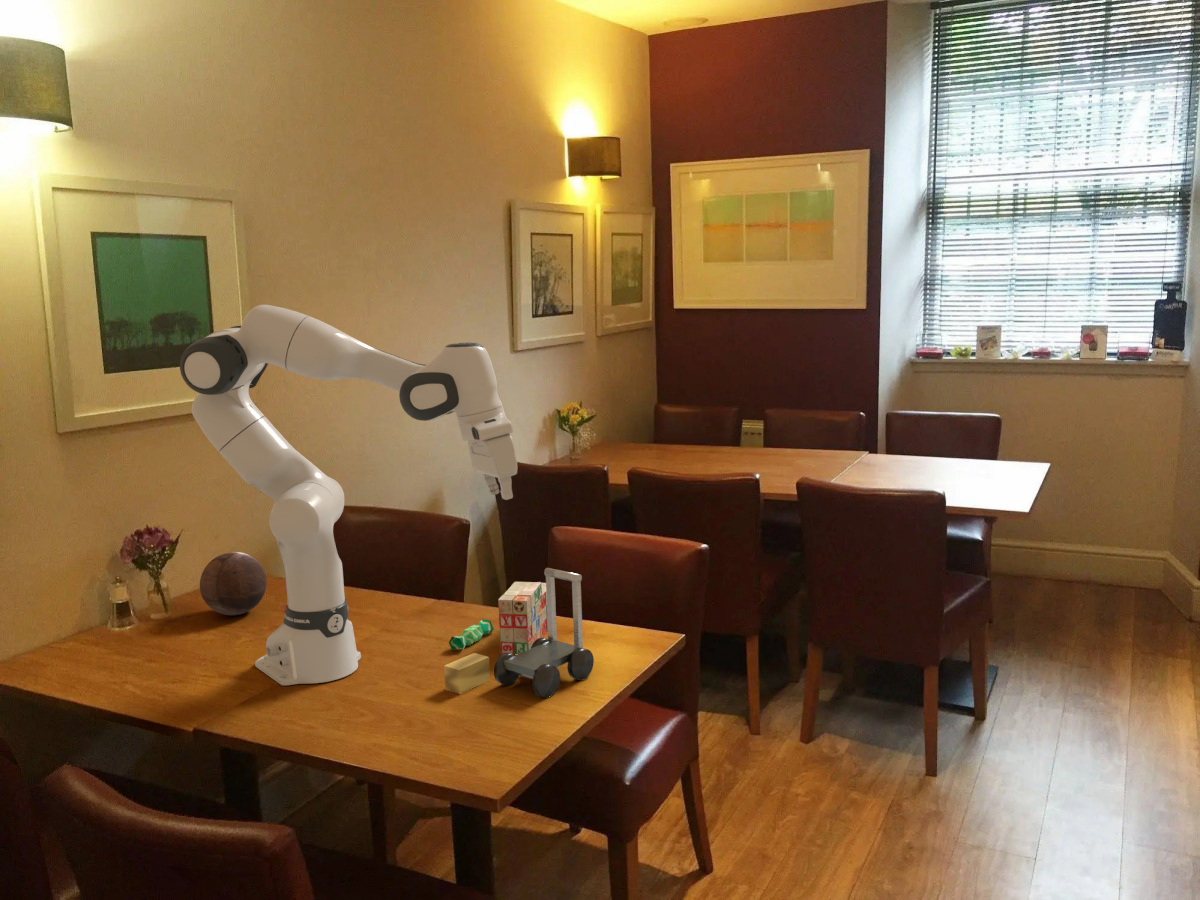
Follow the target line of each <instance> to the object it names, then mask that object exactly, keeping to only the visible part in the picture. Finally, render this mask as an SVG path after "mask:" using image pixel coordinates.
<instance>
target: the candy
mask: <svg viewBox="0 0 1200 900" xmlns="http://www.w3.org/2000/svg"><path fill="white" fill-rule="evenodd" d="M494 630H495V628H494V625H493V623H492V622H491V620H489V619H486V618H485V619H484V618H482V619H481V620H480V621H479V622H478V624H477V625H476V624H472V625H470V626H469V627H467V628H465V629H464V630H463V631H462V633H461V635H460V636H459V635H454V636H451V637H450V639H449V641H448V645H449V647H450V648H451V650H453V649H459V650H461V651H464V650H465V647H466V646H472V645H474V644H475V643H477V642H479V641H480V640H481V639H482V637H483V636H484V635H486V634H488V635H491V634H492V632H493V631H494ZM490 633H491V634H490ZM476 641H477V642H476ZM474 642H475V643H474ZM473 643H474V644H473ZM471 644H472V645H471ZM460 648H463V649H460ZM453 651H454V650H453Z"/></svg>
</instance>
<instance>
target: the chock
mask: <svg viewBox="0 0 1200 900" xmlns="http://www.w3.org/2000/svg"><path fill="white" fill-rule="evenodd" d="M443 667H444V668H443V670H444V684H445V685H444V686H445V690H446V691H448V690H449V691H448V692H451V691H452V692H451V693H454V692H455V693H454V694H457V693H458V694H457V695H462V694H461V693H463V692H465V691H467V690H469V689H471V690H473V689H475V688H474V687H476V686H478V685H480V684H482V683H484V682H486V683H488V682H487V681H489V680H490V681H491V672H490V670H491V669H490V656H487V655H482V654H479V653H476V652H473V653H471V654H468V655H467V656H463V657H461V658H459V659H457V660H455V661H452V662H450V663H447V664H445V665H443ZM490 681H489V682H490ZM484 684H485V683H484ZM482 685H483V684H482ZM480 686H481V685H480ZM478 687H479V686H478ZM472 688H473V689H472ZM476 688H477V687H476ZM469 691H470V690H469ZM467 692H468V691H467ZM465 693H466V692H465ZM463 694H464V693H463Z"/></svg>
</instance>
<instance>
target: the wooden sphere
mask: <svg viewBox="0 0 1200 900" xmlns="http://www.w3.org/2000/svg"><path fill="white" fill-rule="evenodd" d="M267 583H268V582H267V575H266V572H265V570H264V567H263V566H262V563H260V562H259V561H258V560H257V559H256V558H254V557H253V556H251V555H249V554H247V553H245V552H240V551H238V552H237V551H232V552H231V551H230V552H226V553H222V554H219V555H217V556H216V557H214V558H213V559H211V561H209V562H208V564H206V566H205V567H204V569H203V570H202V573H201V575H200V579H199V590H200V591H199V592H200V595H201V597H202V599H203V601H204V603H205V604H206V605H207V607H209V608H210V609H211V610H212V611H214V612H216V613H217V614H218V613H219V614H220V615H224V616H240V615H243V614H246V613H247V612H250V611H251V610H253V609H254V608H256V607H257V605H258V604H259V603H260V602H261V601H262V599H263V597H264V596H265V593H266V589H267Z"/></svg>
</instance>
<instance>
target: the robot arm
mask: <svg viewBox="0 0 1200 900" xmlns="http://www.w3.org/2000/svg"><path fill="white" fill-rule="evenodd" d="M180 357H181V358H180V360H179V370H180V374H181V377H182V380H183V381H184V383H186V385H187V386H188V387H189V388H190V389H191V390H193V392H197V393H198V394H197V395H196V396H195V398H194V400H193V402H192V405H191V414H192V416H193V419H194V420H195V422H196V423H197V425H198V427H199V428H200V430H201V431H202V433H203V434H204V435H205V437H206V438H207V440H208V441H209V443H211V445H212V446H213V447H214V449H215V450H217V452H218V453H219V454H220V455H221V457H222V458H223V459H224V460H225V461H226V462H227V463H228V465H230V466H231V467H232V469H234V471H235V472H236V473H237V475H239V476H240V477H241V479H242V480H243V481H244V482H245V483H246V484H248V485H250V486H252V487H254V488H256V489H258V490H259V491H261V492H262V493H263V494H265V495H266V496H267V497H269V498H270V499H271V500H273V501H274V504H273V506H272V508H271V511H270V515H269V518H268V519H269V520H268V522H269V529H270V531H271V533H272V535H273V536H274V538H275V539H276V543H277V546H278V550H279V551H278V552H279V553H280V556H281V561H282V564H283V568H284V575H285V588H286V589H285V590H286V597H287V598H286V599H287V604H286V605H283V606H281V607H280V608H281V609H282V610H281V612H282V613H283V612H284V617H283V622H282V623H281V624H280V625H279V626H278V627H277V628H276V629H275V630H274V631H272V633H270V634H269V635H268V637H267V639H266V641H265V642H266V648H265V649H266V650H265V651H266V652H265V653H266V654H264V655H263V656H261V657H259V658H258V659H257V660H255V662H254V663H255V665H254V666H255V667H256V668H257V669H258V670H260V672H262V673H264V674H265V675H267V676H268V677H270V678H271V679H272V680H273V681H275V682H276V683H278V684H279V685H280V686H291V685H298V684H300V685H301V684H302V685H303V684H319V683H328V682H331V681H335V680H336V681H337V680H339V679H340V680H341V679H342V678H345V677H347V676H349V675H351V674H352V673H355V671H357V669H358V667H359V661H360V660H361V658H362V655H361V651H358V649H357V645H356V638H355V633H354V627H353V623H352V621H351V620H349V605H348V600H347V599H346V598H345V585H344V583H345V581H344V570H343V562H342V560H341V558H340V556H339V554H338V550H337V547H336V541H335V537H334V526H335V523H336V522H338V520H339V519H340V517H341V515H342V513H344V507H345V492H344V490H343V489H344V488H343V487H342V486H341V484H340V483H339V482H338V481H337V480H335V479H334V478H332V477H331V476H328V475H327V474H325V472H323V471H322V470H320V469H319V467H318V466H316V465H315V464H314V463H312V462H311V461H310V460H309V459H307V458H306V457H305V456H304V455H302V454H301V453H300V452H299V451H298V450H297V449H295V448H294V446H293V445H291V444H290V443H289V441H287V439H286V438H285V437H284V436H283V434H281V433H280V432H279V430H278V429H277V428H276V426H274V425H273V424H272V422H271V421H270V420H269V419H268V418H267V416H265V414H263V412H262V411H261V410H260V409H259V408H258V407H257V406H256V405H255V403H254V401H253V400H252V399H251V397H250V393H249V390H250V389H253V388H255V387H256V386H257V384H258V383H259V381H260V379H261V377H262V375H263V374H264V372H265V371H266V370H267V368H268V366H269V365H273V366H276V367H279V368H280V369H283V370H286V371H288V372H291V373H293V374H296V375H299V376H303V377H306V378H309V379H315V380H320V381H321V380H322V381H333V380H345V379H346V380H347V379H350V380H351V379H355V380H356V379H358V380H366V381H370V382H374V383H376V384H379V385H381V386H384V387H386V388H390V389H391V390H396V391H399V395H398V396H399V397H398V398H399V402H400V405H401V407H402V409H403V411H404V412H405V413H406V414H407V416H408V417H411V418H412V419H413V420H414V419H415V420H416V421H422V422H423V421H425V422H427V421H428V422H430V421H435V420H437V419H440V418H442V417H444V416H446V415H450V414H454V413H455V414H456V418H457V422H458V425H459V429H460V434H461V438H462V441H467V445H468V450H469V451H468V452H469V456H470V459H471V464H472V467H473V469H474V471H475V472H477V473H480V474H482V478H483V481H484V483H485V485H486V487H487V490H488V491H487V492H488V494H489V495H491V496H495V495H498V494H499V493H500V495H501V499H502V500H505V501H508V500H510V499H511V500H512V499H513V498H514V495H513V494H514V493H513V488H512V485H513V484H512V482H513V481H512V480H513V479H512V477H513V476H515V475H517V474H518V460H517V454H516V450H515V445H514V444H515V443H514V441H513V440H514V439H513V437H512V435H511V434H512V433H513V432H514V427H513V424H512V421H510V420H509V418H507V414H506V413H505V409H504V406H503V405H504V404H503V402H502V401H501V399H500V397H499V396H500V395H499V393H498V381H497V377H496V372H495V370H494V366H493V362H492V360H491V356H490V355H489V352H488V350H487V349H486V348H485V346H483V344H480V343H478V342H459V343H458V342H457V343H449V344H447V345H445V346H444V347H443V348H442V350H441V351H440V353H439V354H438V355H437V356H435V357H434V358H433V359H432V360H431V361H430V362H428V363H427V364H424V363H422V364H421V363H417V362H414V361H412V360H408V359H405V358H403V357H400V356H397V355H395V354H392V353H390V352H389V353H388V352H386V351H383V350H380V349H378V348H376V347H372V346H370V345H369V344H366V343H364V342H363V341H360V340H358V338H355V337H353V336H351V335H349V334H348V333H345V332H344V331H342V330H340V329H338V328H336V327H335V326H333V325H331V324H328V323H326V322H324V321H322V320H320V319H317V318H315V317H313V316H310V315H308V314H305V313H302V312H299V311H296V310H293V309H289V308H286V307H282V306H281V307H280V306H275V305H270V304H259V305H258V304H257V305H256V306H254V307H252V308H251V309H250V310H249V311H248V312H247V313H246V315H245V316H244V318H243V320H242V322H241V325H235V326H231V327H229V328H224V329H219V330H217V331H216V330H215V331H214V332H212V333H210V334H209V335H207V336H205V337H202V338H200V339H197V340H195V341H194V342H193V343H190V345H189V346H188V347H187V348H186V349H185V350H184V351H183V354H182V355H181V356H180ZM496 478H497V479H496ZM497 481H498V483H499V484H498V483H497ZM499 486H500V489H499ZM283 608H284V609H283Z"/></svg>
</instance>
